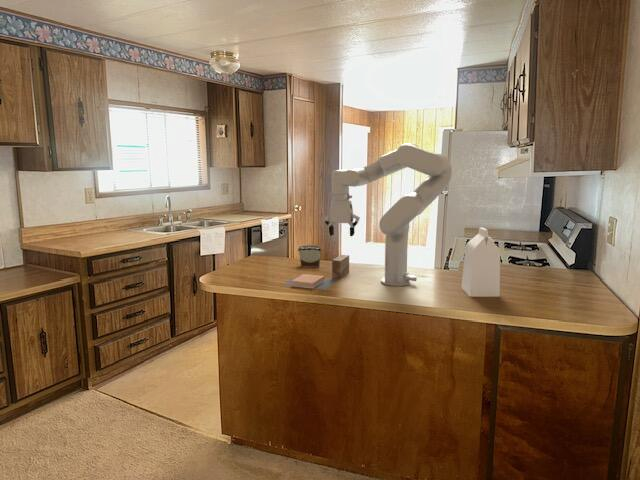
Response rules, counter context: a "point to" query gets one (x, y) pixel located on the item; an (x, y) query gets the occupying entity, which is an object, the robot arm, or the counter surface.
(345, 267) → the pusher block
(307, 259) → the food container
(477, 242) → the milk
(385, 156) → the robot arm
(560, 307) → the counter surface
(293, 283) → the tile
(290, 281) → the mat
